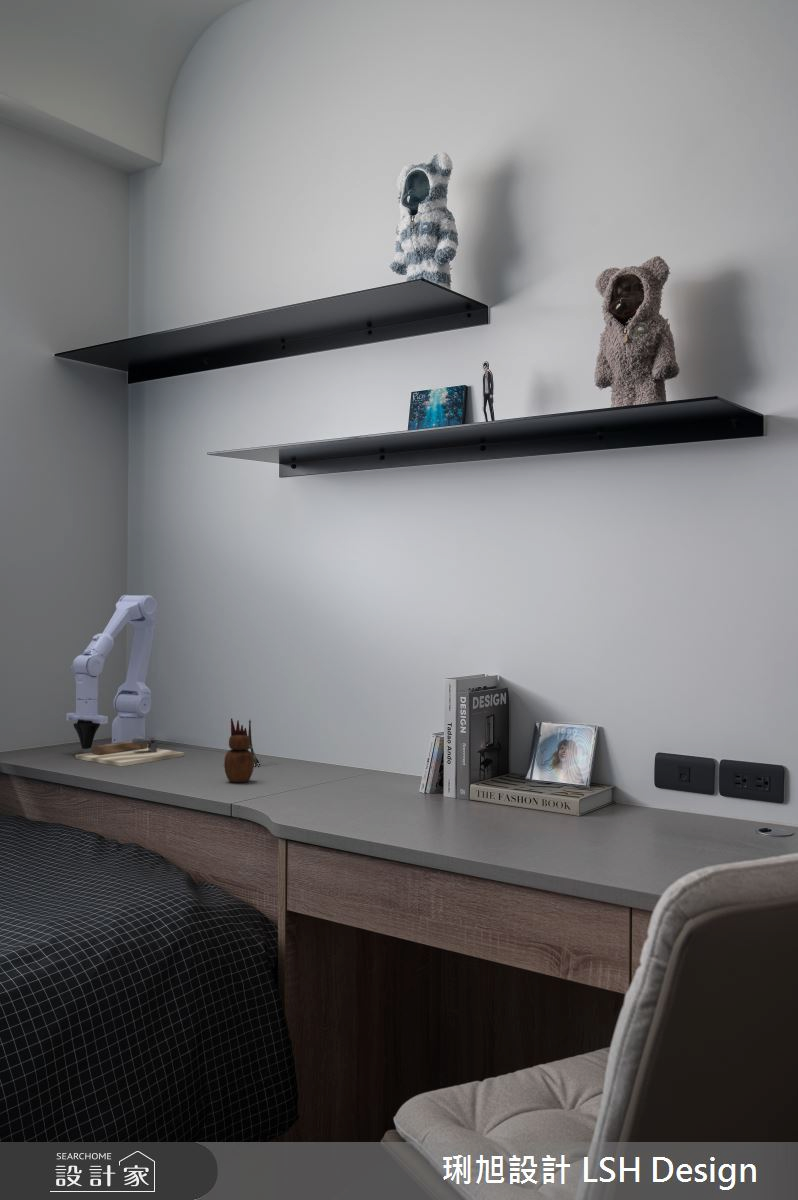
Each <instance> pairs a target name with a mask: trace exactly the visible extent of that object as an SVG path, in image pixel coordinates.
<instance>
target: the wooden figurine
mask: <svg viewBox="0 0 798 1200" xmlns="http://www.w3.org/2000/svg"><path fill="white" fill-rule="evenodd" d="M249 745H250V740H249V737H248V731H247V727H245V728H244V725H243V724H241V726H240V721H239V720H237V722H236V727H235V723H234V721H233V718H230V737H229V739H228V746H229V747H228V748H229V749H230V750H228V751H227V752H226V753H225V756H224V760H223V761H224V763H223V765H224V767H223V768H224V772H225V776H226V778H227V780H228V781H229V782H231V783H234V782H243V783H246V782H248V781H250V779H251V777H252V774H253V772H254V768H255V767H254V757H253V755H252V753H251V750H246V749H248V748H249Z"/></svg>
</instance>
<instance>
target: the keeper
mask: <svg viewBox="0 0 798 1200" xmlns="http://www.w3.org/2000/svg"><path fill="white" fill-rule="evenodd" d="M132 743H134V744H146V743H147V744H148V751H149V752H150V753H155V752H157V749H158V747H157V746H158V744H157V743H158V741H157V739H156V738H154V737H151V738H149V737H148V738H146V737H145V739H132Z"/></svg>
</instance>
